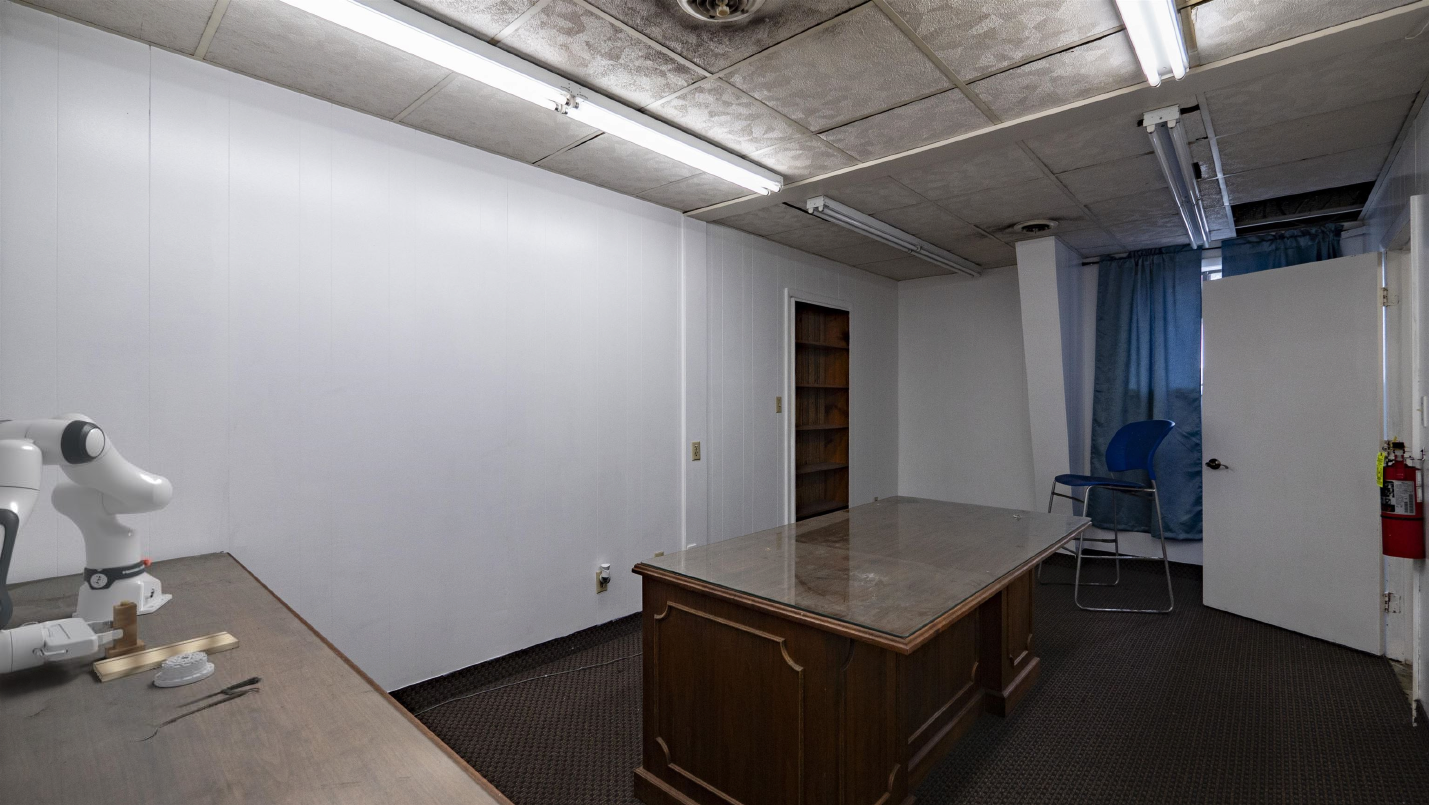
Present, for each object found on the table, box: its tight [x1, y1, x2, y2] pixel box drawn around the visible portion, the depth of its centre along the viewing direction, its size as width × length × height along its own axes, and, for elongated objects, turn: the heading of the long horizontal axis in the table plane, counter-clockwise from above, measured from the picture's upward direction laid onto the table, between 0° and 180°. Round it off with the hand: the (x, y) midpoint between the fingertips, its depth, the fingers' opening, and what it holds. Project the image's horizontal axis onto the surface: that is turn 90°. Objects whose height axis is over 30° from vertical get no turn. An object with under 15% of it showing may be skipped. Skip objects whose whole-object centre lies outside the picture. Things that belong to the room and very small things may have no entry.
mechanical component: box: [153, 652, 215, 688], centre depth 136 cm, size 10×4×10 cm
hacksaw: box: [129, 676, 262, 743], centre depth 122 cm, size 24×10×2 cm, turn 151°
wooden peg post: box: [104, 601, 146, 660], centre depth 147 cm, size 6×6×13 cm
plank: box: [92, 631, 240, 683], centre depth 146 cm, size 24×10×2 cm, turn 143°
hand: (117, 627), depth 146 cm, fingers open, 8 cm apart
